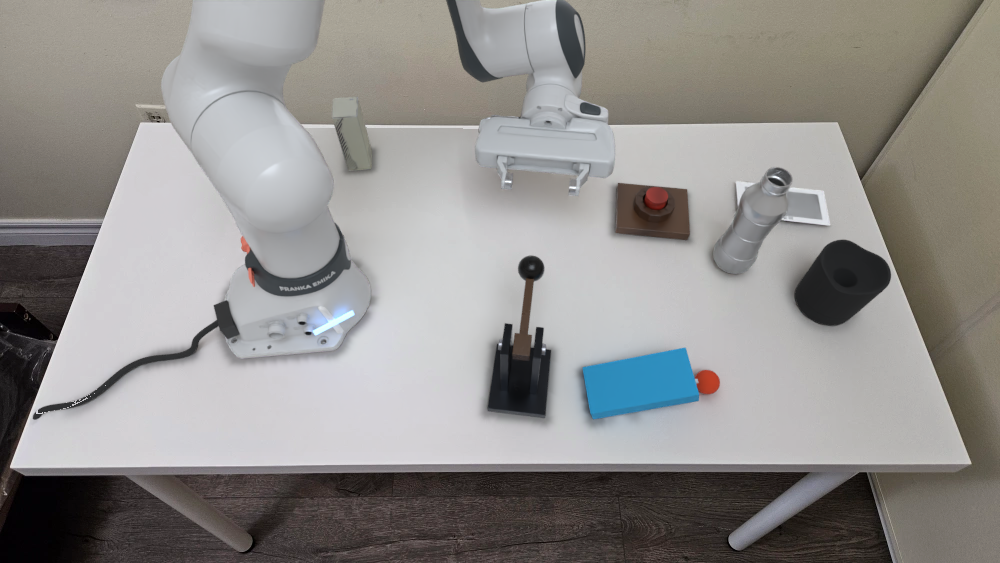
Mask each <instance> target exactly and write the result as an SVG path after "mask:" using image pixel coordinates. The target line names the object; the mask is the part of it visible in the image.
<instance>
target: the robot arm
mask: <svg viewBox="0 0 1000 563" xmlns="http://www.w3.org/2000/svg"><path fill="white" fill-rule="evenodd" d="M445 1H446V5H447V9H448V13H449V16H450V19H451V22H452V26H453V29H454V33H455V37H456V43H457V50H458V56H459V60H460V63H461V66H462V68H463V70H464V71H465V72H466V73H467V74H468V75H469V76H470V77H471V78H474V79H475V80H476V81H478V82H480V83H488V82H491V81H496V80H501V79H504V78H508V77H515V76H523V75H527V77H526V82H525V83H526V84H525V91H526V92H525V94H524V97H523V101H522V106H521V111H520V116H514V115H513V116H512V115H499V114H491V115H490V116H488V117H484V118H482V119H481V120H480V122H479V124H478V136H477V138H476V141H475V145H474V157H475V162H476V163H477V164H478V165H479V167H482V168H490V169H491V168H492V169H496V173H497V174H498V176H499V178H500V187H501V190H511V191H512V189H513V183H514V173H513V172H508V170H513V171H524V172H533V173H545V174H556V175H566V176H567V175H568V176H576V178H569V183H568V195H567V196H570V197H571V196H572V197H579V195H580V189H581V188H582V187H583V186H584V185H585V184H586V182H588V181H589V180H588V179H589V178H600V179H607V178H608V177H610V176H611V175H612V174H613V172H614V168H615V163H616V156H617V154H616V142H615V141H616V140H615V135H614V130H613V129H612V127H611V126H610V125H609V110H608V108H606V107H604V106H601V105H598V104H595V103H592V102H589V101H586V100H584V99H581V98H580V96H581V93H582V88H583V87H582V86H583V69H584V67H585V63H586V50H587V49H586V46H587V45H586V34H585V28H584V24H583V20H582V17H581V14H580V13H579V12H578V11H577V10H576V9H575V7H573V6H572V5H571V4H570V3H569V2H568V1H566V0H536V1H531V2H526V3H520V4H515V5H509V6H505V7H498V8H489V7H484V6H482V4H481V0H445ZM325 4H326V0H192V2H191V12H190V19H189V23H188V28H187V31H186V32H187V33H186V35H185V37H184V42H183V45H182V48H181V51H180V54H179V55H177V56H176V57H174V58H173V59H172V60H171V62H170V63H168V65H167V67H166V68H165V69H164V71H163V73H162V77H161V81H160V82H161V83H160V91H161V96H162V99H163V100H162V101H163V103H164V107H165V110H166V113H167V116H168V119H169V122H170V124H171V126H172V128H173V129H174V132H175V133H176V134H177V135H178V136H179V138H180V139H181V141H182V142H183V144H184V145H185V147H186V148H187V149H188V151H189V152H190V154H191V155H192V157H193V158H194V160H195V162H196V163H197V165H198V166H199V167H200V169H201V170H202V172H203V173H204V174H205V176H206V178H207V179H208V180H209V182H210V183H211V185H212V186H213V188H214V189H215V190H216V192H217V193H218V195H219V197H220V198H221V200H222V201H223V203H224V204H225V206H226V208H227V210H228V211H229V213H230V215H231V217H232V219H233V220H234V222H235V226H236V228H237V229H238V231H239V232H240V234H241V236H240V243H241V247H240V249H241V251H242V252H243V253H246V255H245V257H244V263H243V264H242V265H240V266H239V267H238V268H237V269H235V271H234V272H233V274H232V276H231V278H230V282H229V287H228V289H227V291H226V293H225V296H224V299H223V301H221V302H218V303H215V304H213V310H214V314H215V317H216V320H214V321H213V322H212V323H210V324H208V325H207V326H205V327H203V329H201V330H200V331H198V333H197V334H195V335H194V337H193V338H192V341H191V345H190V347H189V348H188V349H186V350H183V351H180V352H174V353H166V354H165V353H164V354H155V355H149V356H144V357H142V358H141V357H140V358H139V359H135V360H133V361H131V362H130V363H128V364H126V365H124V366H123V367H121V368H120V369H119V370H118V371H116V372H115V373H114V374H113V375H112V376H110V377H109V378H108V379H106V380H105V382H103V383H102V384H101V385H99V386H98V387H97V388H96V389H97V390H96V389H94V390H93V391H91V392H90V393H89V394H90V395H89V394H87V395H88V396H87V395H85V396H86V397H87V398H88V399H86V400H84V401H82V400H83V399H85V398H86V397H85V396H83V397H81V398H79V399H81V400H80V401H82V402H80V401H79V399H76V400H77V401H76V403H77V402H80V403H78V404H76V405H74V406H72V404H75V403H74V402H75V400H73V401H74V402H71V401H66V402H67V403H66V402H60V403H53V404H49V405H45V406H44V405H43V406H42V407H40V408H38V409H37V410H38V413H42V412H43V414H36V411H35V412H34V413H33V415H32V420H34V421H35V420H39V419H40V418H41V417H42V416H43V415H44V414H47V413H49V412H48V411H50V412H55V411H62V410H64V409H63V408H66V409H65V410H68V409H74V408H77V407H80V406H83V405H85V404H87V403H89V402H91V401H93V400H94V399H96V398H97V397H99V396H100V395H102V394H103V393H104V392H105V391H106V390H108V389H109V388H110V387H111V386H112V385H114V384H115V383H116V382H117V381H119V379H121V378H122V377H123V376H124V375H126V374H127V373H128V372H131V371H132V370H134V369H136V368H138V367H139V366H142V365H146V364H149V363H154V362H165V361H173V360H180V359H184V358H186V357H190V356H191V355H193V354H194V353H196V351H197V350H198V348H199V343H200V341H202V339H203V338H204V337H205V336H206V335H208V334H209V333H211V332H212V331H213V330H215V329H217V328H218V329H219V331H220V333H221V334H222V335H223V336H224V339H225V342H226V344H227V346H228V348H229V349H230V351H231V353H232V354H233V355H234V356H235V357H236V358H238V359H244V360H245V359H254V358H265V357H277V356H287V355H288V356H290V355H300V354H310V353H322V352H334V351H336V350H337V349H338V348H340V346H341V345H342V344H343V342H344V340H345V338H346V336H347V334H348V333H349V332H350V330H351V329H352V328H354V327H355V326H356V325H357V324H358V323H359V322H360V321H361V319H362V318H363V317H364V316H365V315H366V312H367V310H368V308H369V306H370V304H371V300H372V286H371V283H370V281H369V278H368V277H367V275H366V274H365V273H364V272H363V270H361V268H359V267H358V266H357V265H356V263H355V262H354V261H353V260H352V255H351V251H350V248H349V245H348V242H347V240H346V237H345V236H344V234H343V232H342V230H341V229H340V227H339V225H338V224H337V223H336V222H335V220H334V218H333V215H332V213H331V210H330V208H329V204H330V201H331V200H332V197H333V193H334V189H335V181H334V176H333V173H332V172H331V169H330V166H329V164H328V163H327V160H326V158H325V156H324V155H323V152H322V150H321V149H320V146H319V145H318V143H317V142H316V140H315V139H314V137H313V136H312V135H311V133H310V132H309V131H308V130H307V129H306V128H305V127H304V126H303V125H302V124H301V122H300V121H299V120H298V119H297V118H296V116H294V114H293V113H292V112H291V111H290V110H289V109H288V107H287V105H286V102H285V97H284V96H285V95H284V85H285V83H286V82H285V81H286V78H287V76H288V73H289V71H290V70H291V68H292V66H293V65H295V64H298V63H301V62H303V61H305V60H306V59H308V58H309V57H310V56H311V55H312V54H313V53H314V51H315V50H316V48H317V45H318V42H319V37H320V30H321V25H322V19H323V15H324V10H325ZM324 342H325V343H324ZM105 385H106V386H105ZM94 393H95V394H94ZM90 396H91V397H90ZM70 406H71V407H70ZM67 407H69V408H67ZM60 409H61V410H60ZM54 410H55V411H54ZM44 412H46V413H44Z"/></svg>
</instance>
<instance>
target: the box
mask: <svg viewBox="0 0 1000 563" xmlns="http://www.w3.org/2000/svg"><path fill="white" fill-rule="evenodd" d="M331 121H332V122H333V125H334V126H333V127H334V129H335V132H336V135H337V139H338V142H339V146H340V148H341V151H342V154H343V157H344V161H345V164H346V168H347V170H348V172H349V171H350V172H353V171H365V170H366V171H367V170H371V169H372V167H373V149H372V146H371V142H370V138H369V134H368V130H367V127H366V122H365V118H364V115H363V110H362V107H361V102H360V100H359V96H345V97H335V98H334V97H333V98H332V104H331Z"/></svg>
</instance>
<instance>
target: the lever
mask: <svg viewBox="0 0 1000 563" xmlns="http://www.w3.org/2000/svg"><path fill="white" fill-rule="evenodd" d="M517 272H518V275H519V277H520V279H522V280H523V281H525V282H524V290H523V298H522V307H521V317H520V322H519V323H520V325H519V332H514V334H513V335H514V337H513V343H512V345H513V352H512V359H516V360H525V361H529V360H530V351H531V348H532V343H533V342H532V340H533V335H532V334H529V328H530V320H531V310H532V302H533V294H534V287H535V286H534V285H535V282H538V281H539V280H541V278H542V277H543V276H544V274H545V264H544V262H543V260H542V259H541V258H540V257H538V256H536V255H530V254H529V255H526V256H524V257H522V258H521V260H519V262H518V265H517Z"/></svg>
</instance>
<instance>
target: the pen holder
mask: <svg viewBox="0 0 1000 563" xmlns="http://www.w3.org/2000/svg"><path fill="white" fill-rule="evenodd" d="M891 280H892V272H891V267H890V266H889V264H888V262H887V260H886V259H884V258H883V257H882V256H880V255H879V254H877V253H874V252H872V251H870V250H868V249H865V248H863V247H862V246H860V245H859V244H857V243H856V242H854V241H851V240H848V239H836V240H833V241H830V242H829V243H827V244H826V245H825V246H824V247H823V248H822V249H821V251H820V252H819V254H818V255H817V257H816V258H815V259H814V260H813V263H812V264H811V265H810V266H809V268H808V269H807V271H806V272H805V274H804V275H803V277H802V278H801V280H800V281H799V283H798V284H797V286H796V288H795V291H794V299H795V302H796V305H797V307H798V309H799V310H800V311H801V312H802V314H803V315H804V316H806V317H807V318H808V319H810V320H811V321H813V322H815V323H818V324H821V325H824V326H839V325H843V324H845V323H846V322H848V321H849V320H850V319H852V318H853V317H854V316H855V315H856V314H858V313H859V312H860V311H861V310H863V309H864V308H865V307H867V305H868V304H869V303H871V302H872V301H873V300H874V299H875V298H877V297H878V296H879V295H880V294H881V293H882V292H884V291H885V290H886V288H888V286H889V285H890V283H891Z"/></svg>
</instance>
